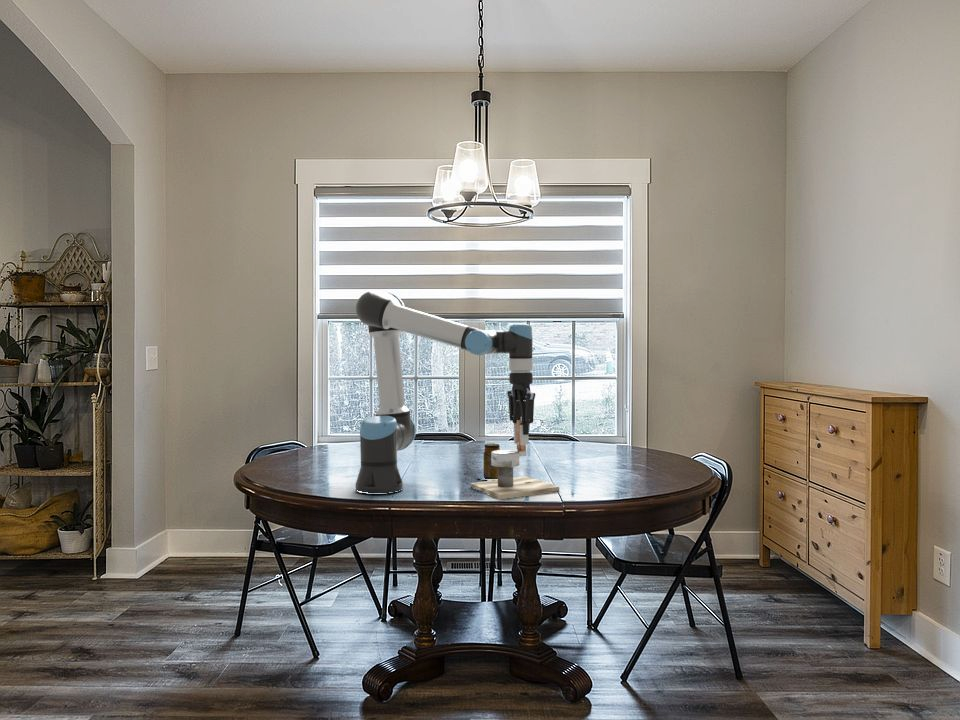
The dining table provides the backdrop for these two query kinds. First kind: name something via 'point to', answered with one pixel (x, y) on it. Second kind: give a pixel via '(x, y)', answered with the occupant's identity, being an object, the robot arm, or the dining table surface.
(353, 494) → the dining table surface
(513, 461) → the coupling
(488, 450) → the condiment
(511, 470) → the post base
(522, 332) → the robot arm
